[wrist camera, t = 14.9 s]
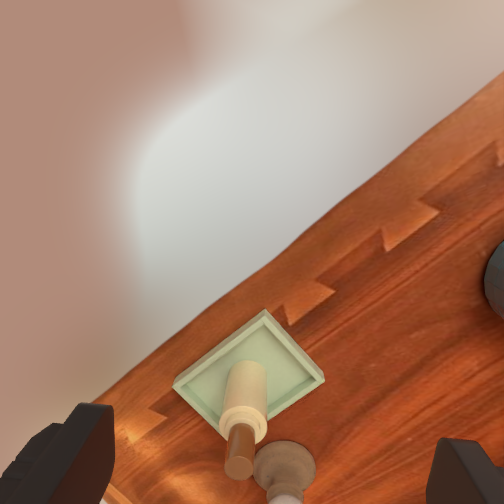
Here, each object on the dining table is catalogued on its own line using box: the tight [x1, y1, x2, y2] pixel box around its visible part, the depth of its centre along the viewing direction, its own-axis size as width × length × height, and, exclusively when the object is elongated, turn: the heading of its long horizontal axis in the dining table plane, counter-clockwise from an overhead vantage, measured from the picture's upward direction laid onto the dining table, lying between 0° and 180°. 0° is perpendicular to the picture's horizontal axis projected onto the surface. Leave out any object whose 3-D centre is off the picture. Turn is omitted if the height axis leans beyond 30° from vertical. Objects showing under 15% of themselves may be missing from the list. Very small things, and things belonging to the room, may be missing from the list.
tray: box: [172, 309, 325, 438], centre depth 49 cm, size 16×12×2 cm
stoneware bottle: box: [219, 360, 268, 481], centre depth 43 cm, size 5×5×14 cm
